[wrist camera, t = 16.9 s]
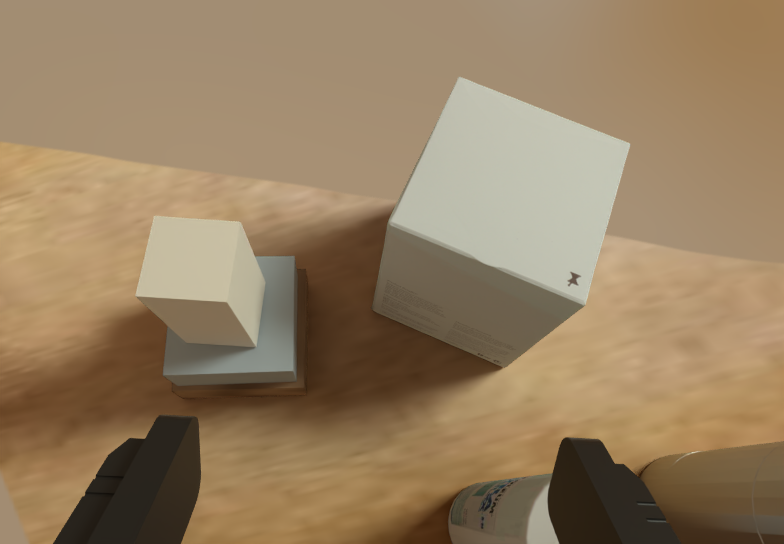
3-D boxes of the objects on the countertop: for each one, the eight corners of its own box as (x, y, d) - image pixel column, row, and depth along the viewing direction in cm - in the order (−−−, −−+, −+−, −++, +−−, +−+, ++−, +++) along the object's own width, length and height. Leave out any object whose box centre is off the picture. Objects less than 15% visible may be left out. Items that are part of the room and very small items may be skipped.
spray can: (500, 466, 46) (612, 447, 27) (540, 546, 44) (689, 581, 25) (431, 502, 44) (499, 507, 26) (469, 586, 42) (571, 655, 24)
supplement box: (547, 248, 54) (636, 142, 38) (505, 371, 49) (589, 309, 33) (421, 196, 55) (457, 71, 39) (368, 311, 50) (383, 223, 34)
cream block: (265, 282, 42) (240, 221, 33) (256, 347, 40) (226, 302, 31) (198, 278, 42) (154, 215, 32) (186, 343, 40) (135, 296, 31)
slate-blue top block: (297, 274, 47) (294, 255, 43) (296, 381, 43) (293, 370, 40) (187, 276, 46) (174, 257, 42) (177, 386, 42) (162, 375, 39)
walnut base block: (307, 285, 51) (305, 269, 47) (306, 396, 47) (304, 387, 43) (195, 286, 50) (184, 269, 46) (184, 399, 46) (171, 391, 42)
